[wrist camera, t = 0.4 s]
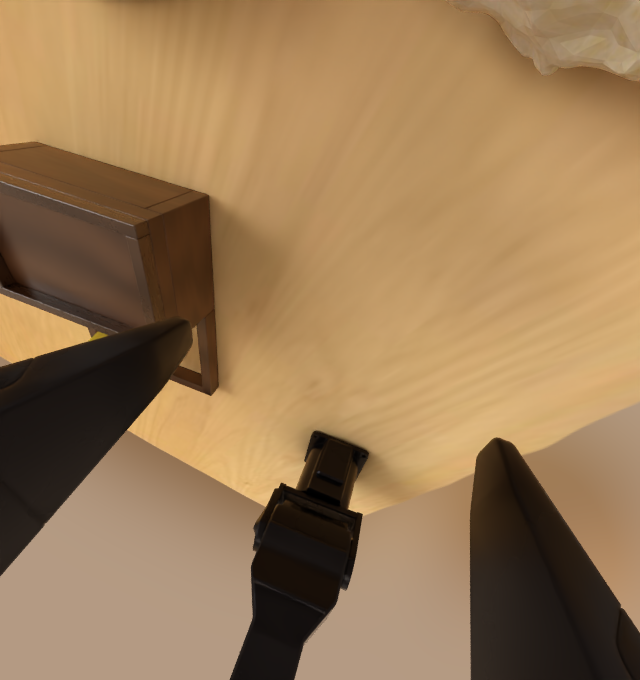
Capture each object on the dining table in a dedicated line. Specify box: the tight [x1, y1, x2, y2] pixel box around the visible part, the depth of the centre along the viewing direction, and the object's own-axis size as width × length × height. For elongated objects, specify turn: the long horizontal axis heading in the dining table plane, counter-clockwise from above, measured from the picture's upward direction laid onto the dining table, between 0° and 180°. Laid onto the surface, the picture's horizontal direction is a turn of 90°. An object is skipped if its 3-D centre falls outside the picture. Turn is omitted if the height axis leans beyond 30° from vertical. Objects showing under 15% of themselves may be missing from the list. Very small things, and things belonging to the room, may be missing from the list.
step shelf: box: [0, 142, 218, 396], centre depth 27 cm, size 21×15×7 cm
